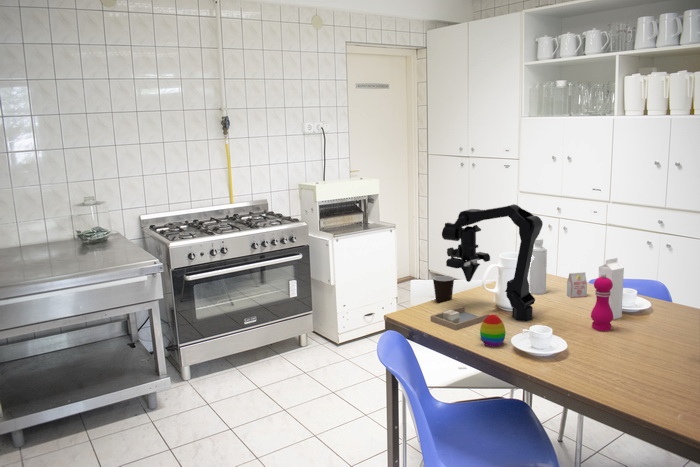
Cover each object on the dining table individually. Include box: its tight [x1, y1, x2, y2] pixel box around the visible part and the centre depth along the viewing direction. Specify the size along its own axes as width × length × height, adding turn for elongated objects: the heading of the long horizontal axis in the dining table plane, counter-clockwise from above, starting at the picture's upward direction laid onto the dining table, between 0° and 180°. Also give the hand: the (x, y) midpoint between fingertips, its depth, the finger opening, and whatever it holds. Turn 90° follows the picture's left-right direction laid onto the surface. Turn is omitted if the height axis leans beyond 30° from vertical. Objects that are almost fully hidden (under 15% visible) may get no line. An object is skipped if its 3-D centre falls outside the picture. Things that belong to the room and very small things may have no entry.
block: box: [442, 309, 459, 323], centre depth 208 cm, size 4×4×4 cm
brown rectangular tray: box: [430, 306, 490, 331], centre depth 211 cm, size 13×17×4 cm
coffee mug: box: [432, 275, 455, 304], centre depth 239 cm, size 12×9×10 cm
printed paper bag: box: [566, 272, 588, 299], centre depth 238 cm, size 4×7×10 cm, turn 97°
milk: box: [598, 257, 625, 321], centre depth 210 cm, size 6×6×22 cm
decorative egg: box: [479, 314, 506, 347], centre depth 191 cm, size 8×8×10 cm
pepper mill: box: [590, 273, 614, 332], centre depth 199 cm, size 7×7×20 cm
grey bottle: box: [529, 237, 548, 296], centre depth 244 cm, size 7×7×25 cm
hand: (468, 281), depth 223 cm, fingers closed
